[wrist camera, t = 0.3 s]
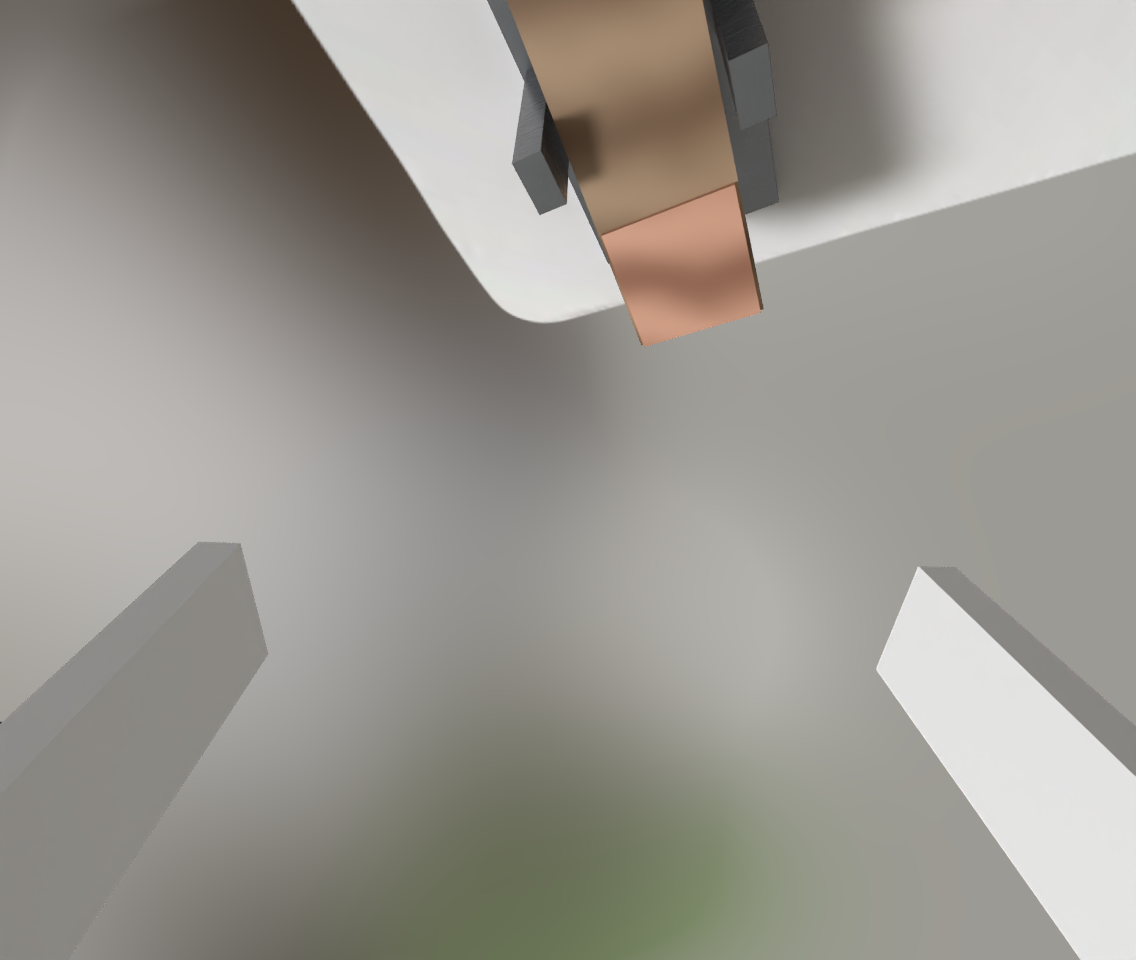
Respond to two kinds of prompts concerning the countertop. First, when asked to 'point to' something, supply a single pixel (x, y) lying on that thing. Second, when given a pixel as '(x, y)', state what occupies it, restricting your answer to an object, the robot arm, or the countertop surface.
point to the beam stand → (741, 90)
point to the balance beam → (648, 154)
